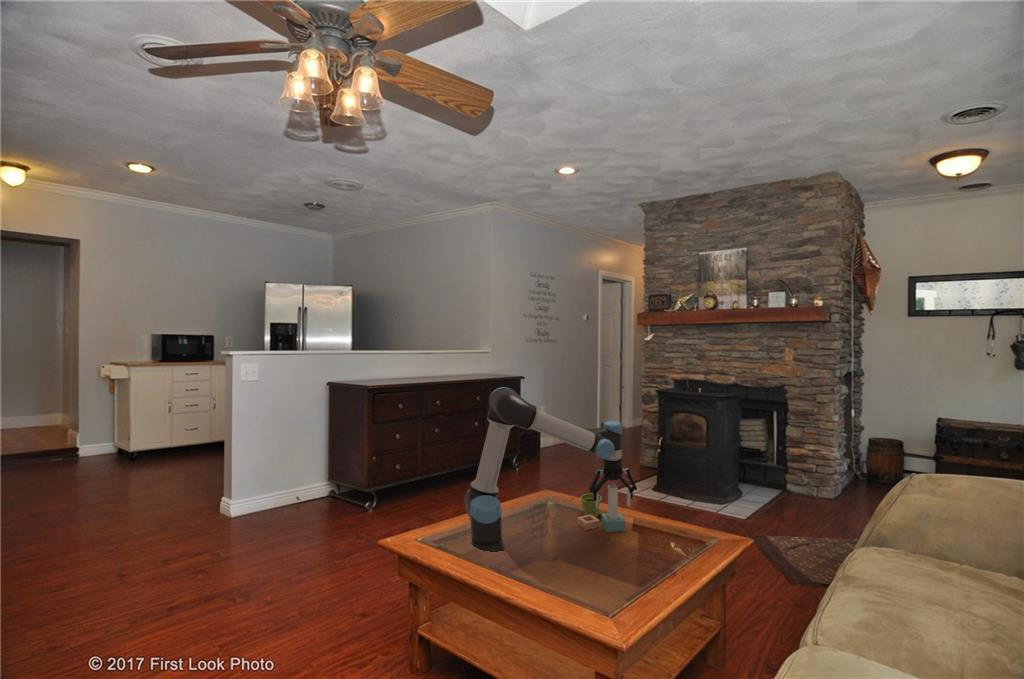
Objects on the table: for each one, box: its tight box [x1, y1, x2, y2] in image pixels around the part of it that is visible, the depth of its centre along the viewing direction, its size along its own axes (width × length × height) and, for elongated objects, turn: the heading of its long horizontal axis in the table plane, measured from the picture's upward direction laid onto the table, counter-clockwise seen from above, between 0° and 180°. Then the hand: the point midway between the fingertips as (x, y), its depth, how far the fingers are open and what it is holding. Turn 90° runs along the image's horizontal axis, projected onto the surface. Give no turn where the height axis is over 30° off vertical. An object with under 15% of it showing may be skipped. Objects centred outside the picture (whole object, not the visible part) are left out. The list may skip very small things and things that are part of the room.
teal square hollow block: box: [601, 512, 626, 533], centre depth 237 cm, size 8×8×4 cm
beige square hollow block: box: [576, 514, 601, 531], centre depth 240 cm, size 7×7×3 cm
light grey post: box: [607, 482, 619, 520], centre depth 236 cm, size 3×3×20 cm
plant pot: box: [579, 493, 603, 518], centre depth 248 cm, size 9×9×9 cm
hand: (612, 506), depth 236 cm, fingers open, 13 cm apart
